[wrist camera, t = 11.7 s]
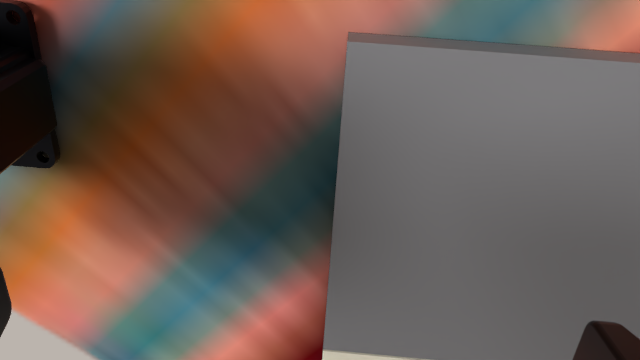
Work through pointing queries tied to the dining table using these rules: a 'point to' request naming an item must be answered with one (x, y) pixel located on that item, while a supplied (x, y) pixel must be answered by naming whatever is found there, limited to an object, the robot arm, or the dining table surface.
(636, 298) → the subfloor board
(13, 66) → the robot arm
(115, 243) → the dining table surface
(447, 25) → the dining table surface
